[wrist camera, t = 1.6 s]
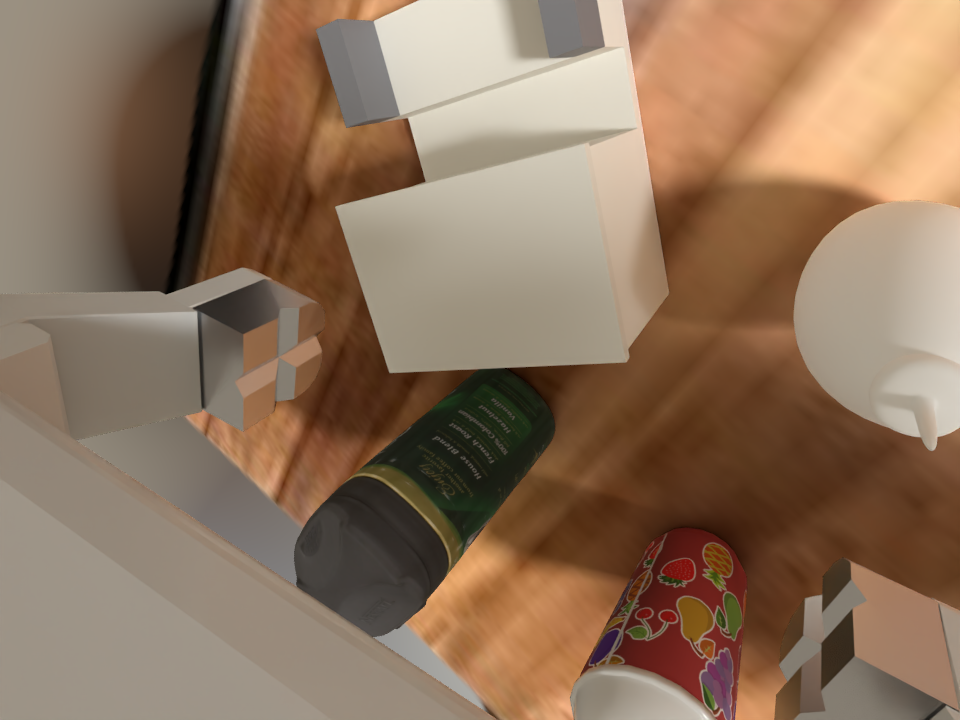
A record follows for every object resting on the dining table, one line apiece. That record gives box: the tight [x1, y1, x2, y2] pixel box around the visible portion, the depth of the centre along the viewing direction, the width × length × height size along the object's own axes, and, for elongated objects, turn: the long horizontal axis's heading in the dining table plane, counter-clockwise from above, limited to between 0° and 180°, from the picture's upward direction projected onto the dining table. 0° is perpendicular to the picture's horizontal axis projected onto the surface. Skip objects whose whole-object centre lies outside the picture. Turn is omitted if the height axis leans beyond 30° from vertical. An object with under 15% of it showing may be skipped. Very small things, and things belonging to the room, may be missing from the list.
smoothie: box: [570, 527, 747, 720], centre depth 35 cm, size 8×8×20 cm
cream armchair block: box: [316, 0, 669, 373], centre depth 33 cm, size 14×19×10 cm
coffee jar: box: [294, 368, 555, 637], centre depth 39 cm, size 10×8×19 cm
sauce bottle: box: [794, 200, 960, 451], centre depth 23 cm, size 8×8×18 cm
